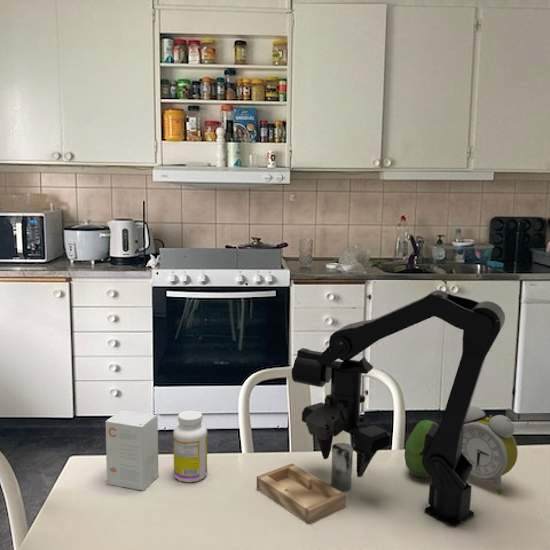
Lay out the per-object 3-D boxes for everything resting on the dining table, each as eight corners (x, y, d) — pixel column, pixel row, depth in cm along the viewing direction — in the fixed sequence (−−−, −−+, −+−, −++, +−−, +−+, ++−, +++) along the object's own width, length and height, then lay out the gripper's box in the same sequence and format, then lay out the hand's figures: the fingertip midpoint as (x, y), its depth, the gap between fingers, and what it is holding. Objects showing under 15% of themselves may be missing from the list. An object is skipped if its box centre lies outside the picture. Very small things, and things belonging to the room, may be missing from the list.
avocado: (446, 485, 120) (451, 428, 118) (406, 484, 120) (410, 427, 118) (436, 466, 128) (440, 412, 126) (399, 465, 128) (403, 411, 126)
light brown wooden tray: (345, 507, 111) (345, 494, 111) (308, 523, 105) (309, 510, 105) (291, 474, 123) (292, 463, 122) (256, 488, 117) (256, 476, 116)
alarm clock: (448, 475, 124) (454, 405, 122) (466, 465, 128) (472, 398, 126) (502, 498, 115) (509, 424, 113) (519, 487, 120) (526, 415, 117)
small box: (159, 476, 121) (158, 414, 119) (143, 491, 115) (142, 426, 113) (123, 469, 123) (122, 408, 121) (105, 484, 117) (104, 420, 115)
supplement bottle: (191, 464, 126) (191, 405, 124) (214, 474, 122) (214, 414, 120) (166, 476, 121) (166, 415, 119) (189, 487, 117) (189, 424, 115)
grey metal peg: (355, 486, 119) (357, 448, 117) (341, 493, 116) (342, 453, 115) (340, 478, 122) (342, 441, 120) (326, 484, 119) (328, 446, 118)
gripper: (282, 385, 118) (280, 460, 120) (351, 416, 103) (347, 500, 106) (323, 374, 125) (320, 446, 127) (394, 402, 110) (389, 481, 113)
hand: (342, 467), depth 118 cm, fingers open, 9 cm apart
